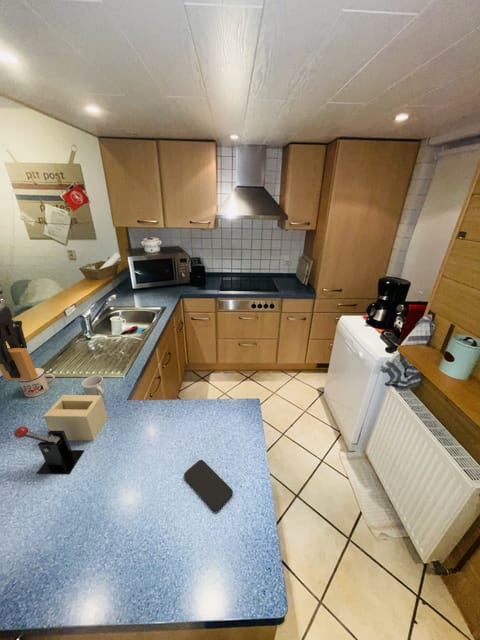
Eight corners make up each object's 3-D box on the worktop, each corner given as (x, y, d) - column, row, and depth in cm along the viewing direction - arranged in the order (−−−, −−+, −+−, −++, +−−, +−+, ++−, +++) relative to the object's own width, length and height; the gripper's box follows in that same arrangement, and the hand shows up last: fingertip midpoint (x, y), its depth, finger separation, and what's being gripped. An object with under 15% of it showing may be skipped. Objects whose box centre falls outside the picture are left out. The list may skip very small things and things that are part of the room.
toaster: (54, 441, 87) (43, 415, 82) (71, 419, 96) (63, 394, 91) (94, 442, 87) (86, 416, 82) (108, 419, 96) (101, 395, 91)
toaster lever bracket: (37, 475, 76) (23, 449, 71) (55, 452, 83) (44, 426, 78) (70, 476, 76) (59, 449, 71) (85, 452, 83) (76, 426, 78)
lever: (10, 438, 72) (11, 431, 71) (19, 429, 75) (20, 422, 74) (53, 451, 75) (55, 444, 73) (60, 441, 78) (62, 435, 76)
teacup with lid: (21, 400, 104) (11, 378, 99) (27, 387, 111) (18, 365, 107) (56, 392, 109) (48, 370, 104) (59, 380, 116) (52, 359, 111)
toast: (4, 380, 83) (-9, 351, 78) (11, 375, 85) (-2, 347, 80) (32, 380, 83) (20, 352, 78) (37, 375, 85) (26, 348, 80)
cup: (114, 397, 107) (110, 382, 104) (95, 408, 101) (91, 392, 98) (100, 387, 112) (96, 372, 109) (82, 397, 106) (77, 382, 103)
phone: (215, 512, 67) (182, 474, 76) (215, 514, 67) (182, 476, 76) (234, 491, 72) (201, 458, 81) (234, 493, 72) (201, 459, 81)
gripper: (-21, 320, 66) (11, 390, 76) (25, 300, 80) (47, 361, 90) (-50, 319, 66) (-13, 389, 76) (1, 299, 80) (26, 360, 90)
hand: (19, 374), depth 83 cm, fingers closed on toast, 2 cm apart
